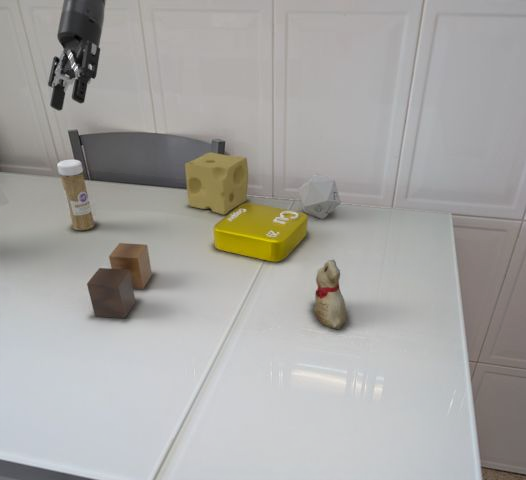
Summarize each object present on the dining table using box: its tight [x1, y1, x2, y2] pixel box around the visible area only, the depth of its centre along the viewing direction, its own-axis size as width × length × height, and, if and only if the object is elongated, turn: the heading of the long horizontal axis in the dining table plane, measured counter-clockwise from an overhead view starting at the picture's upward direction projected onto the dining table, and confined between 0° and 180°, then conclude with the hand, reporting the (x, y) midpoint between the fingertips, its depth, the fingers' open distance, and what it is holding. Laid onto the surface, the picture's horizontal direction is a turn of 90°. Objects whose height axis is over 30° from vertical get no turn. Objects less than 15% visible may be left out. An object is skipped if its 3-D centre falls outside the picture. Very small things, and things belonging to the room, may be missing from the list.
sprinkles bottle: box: [56, 159, 95, 231], centre depth 101 cm, size 5×5×13 cm
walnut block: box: [86, 267, 136, 320], centre depth 79 cm, size 5×5×6 cm
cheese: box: [184, 151, 249, 216], centre depth 112 cm, size 10×11×10 cm
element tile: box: [213, 202, 308, 263], centre depth 99 cm, size 15×15×5 cm
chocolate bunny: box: [314, 259, 347, 330], centre depth 76 cm, size 6×8×10 cm
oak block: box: [108, 242, 153, 290], centre depth 86 cm, size 5×5×6 cm
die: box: [297, 173, 342, 220], centre depth 108 cm, size 8×9×10 cm
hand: (66, 105), depth 96 cm, fingers open, 8 cm apart
